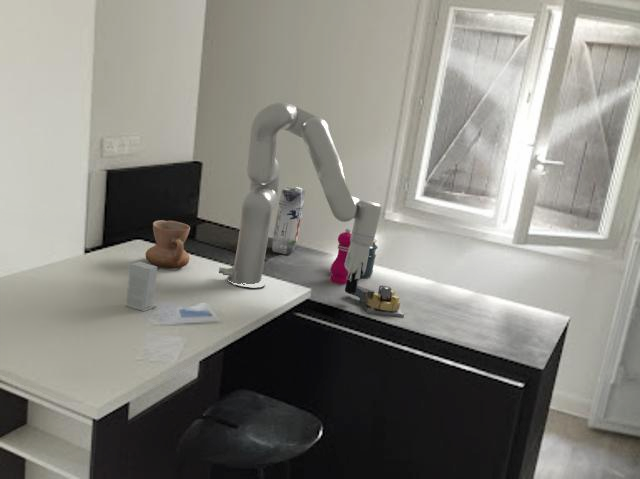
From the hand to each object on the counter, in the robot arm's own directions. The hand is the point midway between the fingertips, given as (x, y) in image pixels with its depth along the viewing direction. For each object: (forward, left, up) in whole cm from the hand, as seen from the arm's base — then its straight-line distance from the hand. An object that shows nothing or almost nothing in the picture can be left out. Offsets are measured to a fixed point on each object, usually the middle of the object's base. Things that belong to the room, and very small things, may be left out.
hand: (349, 292), depth 227 cm
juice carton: (-14, +60, -4) cm, 62 cm away
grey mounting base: (+11, -2, -4) cm, 12 cm away
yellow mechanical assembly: (+8, +1, -2) cm, 8 cm away
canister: (+12, +40, -4) cm, 42 cm away
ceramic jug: (-59, +18, -4) cm, 62 cm away
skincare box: (-65, -26, -4) cm, 70 cm away
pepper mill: (+2, +25, -4) cm, 25 cm away
